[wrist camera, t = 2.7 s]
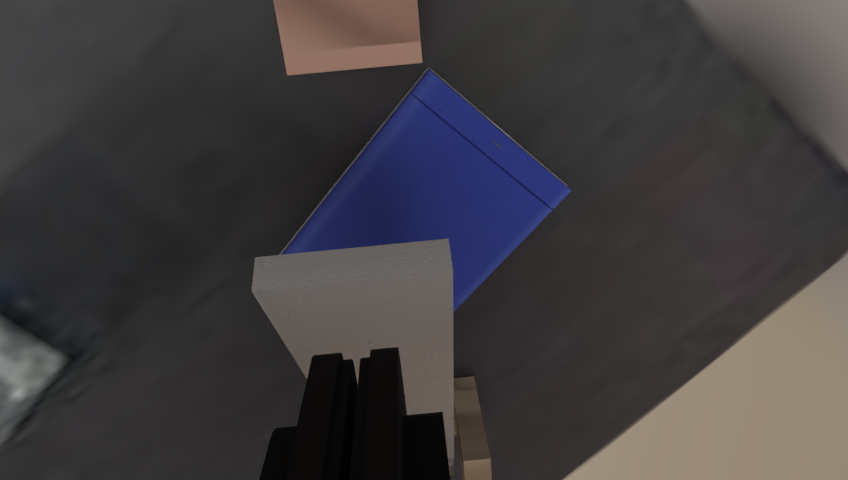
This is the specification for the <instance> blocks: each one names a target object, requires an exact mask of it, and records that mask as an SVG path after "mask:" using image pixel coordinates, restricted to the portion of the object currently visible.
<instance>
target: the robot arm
mask: <svg viewBox="0 0 848 480" xmlns="http://www.w3.org/2000/svg"><path fill="white" fill-rule="evenodd" d="M260 480H450V473H449V464H448V455H447V446H446V437H445V428H444V419H443V412H434V413H424V414H414V415H407V409H406V401H405V393H404V386H403V378H402V370H401V362H400V354H399V348H398V347H393V348H382V349H372V350H371V351H370V357H367V358H361V359H360V366H359V378H358V384H357V378H356V372H355V367H354V362H353V359H347V360H344V359H343V355H342V353H332V354H321V355H314V356H312V359H311V364H310V368H309V373H308V378H307V382H306V387H305V392H304V396H303V401H302V406H301V410H300V415H299V420H298V424H297V426H294V427H284V428H276V429H275V430H274V431H273V433H272V436H271V439H270V442H269V446H268V450H267V453H266V457H265V461H264V465H263V468H262V472H261V476H260Z"/></svg>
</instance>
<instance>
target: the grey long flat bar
mask: <svg viewBox="0 0 848 480" xmlns="http://www.w3.org/2000/svg"><path fill="white" fill-rule="evenodd" d="M252 293H253V294H254V296H255V298H256V299H257V301H258V302H259V304H260V305H261V307H262V309H263V310H264V312H265V313H266V315H267V317H268V318H269V320H270V321H271V323H272V324H273V326H274V328H275V329H276V331H277V332H278V334H279V336H280V337H281V339H282V340H283V342H284V343H285V345H286V347H287V348H288V350H289V351H290V353H291V354H292V356H293V358H294V359H295V361H296V362H297V364H298V366H299V367H300V369H301V370H302V372H303V373H304V375H305V377H306V378H308V373H309V368H310V364H311V359H312V356H314V355H321V354H332V353H342V355H343V359H344V360H347V359H353V362H354V367H355V372H356V378H357V384H358V378H359V366H360V359H361V358H367V357H370V351H371V350H372V349H382V348H393V347H398V348H399V354H400V362H401V370H402V378H403V386H404V393H405V401H406V409H407V415H414V414H424V413H434V412H443V419H444V428H445V437H446V446H447V455H448V464H449V473H450V476H455V472H454V363H453V267H452V260H451V252H450V245H449V239H439V240H428V241H418V242H408V243H398V244H387V245H377V246H367V247H356V248H346V249H336V250H326V251H315V252H305V253H295V254H284V255H274V256H264V257H255V264H254V273H253V282H252Z"/></svg>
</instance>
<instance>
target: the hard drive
mask: <svg viewBox="0 0 848 480" xmlns="http://www.w3.org/2000/svg"><path fill="white" fill-rule="evenodd" d="M570 192H571V189H570V188H569V187H568V185H567V184H566V183H564V182H563V181H562V180H561V179H560V178H558V177H557V176H556V175H555V174H554V173H553V172H551V171H550V170H549V169H548V168H547V167H545V166H544V165H543V164H542V163H541V162H540V161H538V160H537V159H536V158H535V157H534V156H533V155H531V154H530V153H529V152H528V151H527V150H525V149H524V148H523V147H522V146H521V145H520V144H518V143H517V142H516V141H515V140H514V139H513V138H512V137H510V136H509V135H508V134H507V133H506V132H504V131H503V130H502V129H501V128H500V127H499V126H497V125H496V124H495V123H494V122H493V121H491V120H490V119H489V118H488V117H487V116H486V115H484V114H483V113H482V112H481V111H480V110H479V109H477V108H476V107H475V106H474V105H473V104H472V103H470V102H469V101H468V100H467V99H466V98H465V97H463V96H462V95H461V94H460V93H459V92H458V91H456V90H455V89H454V88H453V87H452V86H451V85H450V84H448V83H447V82H446V81H445V80H444V79H443V78H441V77H440V76H439V75H438V74H437V73H436V72H434V71H433V70H432V69H431V68H430V67H427V68H426V70H425V71H424V72H423V73H422V75H421V76H420V77H419V79H418V80H417V81H416V82H415V84H414V85H413V86H412V87H411V89H410V90H409V91H408V92H407V93H406V95H405V96H404V97H403V98H402V100H401V101H400V102H399V103H398V105H397V106H396V107H395V108H394V110H393V111H392V112H391V113H390V115H389V116H388V117H387V118H386V120H385V121H384V122H383V123H382V125H381V126H380V127H379V129H378V130H377V131H376V132H375V134H374V135H373V136H372V137H371V139H370V140H369V141H368V142H367V144H366V145H365V146H364V147H363V149H362V150H361V151H360V153H359V154H358V155H357V156H356V158H355V159H354V160H353V161H352V163H351V164H350V165H349V166H348V168H347V169H346V170H345V172H344V173H343V174H342V175H341V177H340V178H339V179H338V180H337V182H336V183H335V184H334V185H333V187H332V188H331V189H330V190H329V192H328V193H327V194H326V196H325V197H324V198H323V199H322V201H321V202H320V203H319V204H318V206H317V207H316V208H315V209H314V211H313V212H312V213H311V215H310V216H309V217H308V218H307V220H306V221H305V222H304V223H303V225H302V226H301V227H300V229H299V230H298V231H297V232H296V234H295V235H294V236H293V237H292V239H291V240H290V241H289V242H288V244H287V245H286V246H285V247H284V249H283V250H282V251H281V253H280V254H279V255H284V254H295V253H305V252H315V251H326V250H336V249H346V248H356V247H367V246H377V245H387V244H398V243H408V242H418V241H428V240H439V239H449V245H450V252H451V260H452V267H453V312H454V311H455V310H456V309H457V308H458V307H459V306H460V305H461V304H462V303H463V302H464V301H465V300H466V299H467V298H468V297H469V296H470V295H471V294H472V293H473V292H474V291H475V290H476V289H477V288H478V287H479V286H480V285H481V284H482V283H483V282H484V281H485V280H486V279H487V277H488V276H489V275H490V274H491V273H492V272H493V271H494V270H495V269H496V268H497V267H498V266H499V265H500V264H501V263H502V262H503V261H504V260H505V259H506V258H507V257H508V256H509V255H510V254H511V253H512V252H513V251H514V250H515V249H516V248H517V247H518V246H519V244H520V243H521V242H522V241H523V240H524V239H525V238H526V237H527V236H528V235H529V234H530V233H531V232H532V231H533V230H534V229H535V228H536V227H537V226H538V225H539V224H540V223H541V222H542V221H543V220H544V218H545V217H546V216H547V215H548V214H549V213H550V212H551V211H552V210H553V209H554V208H555V207H556V206H557V205H558V204H559V203H560V202H561V201H562V200H563V199H564V198H565V197H566V196H567V195H568V194H569V193H570Z"/></svg>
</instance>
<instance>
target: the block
mask: <svg viewBox="0 0 848 480" xmlns="http://www.w3.org/2000/svg"><path fill="white" fill-rule="evenodd" d="M273 1H274V6H275V12H276V17H277V23H278V28H279V33H280V39H281V44H282V50H283V55H284V60H285V66H286V71H287V75H298V74H308V73H319V72H330V71H340V70H351V69H362V68H372V67H383V66H394V65H404V64H415V63H422V52H421V39H420V27H419V15H418V2H417V0H273Z"/></svg>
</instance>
